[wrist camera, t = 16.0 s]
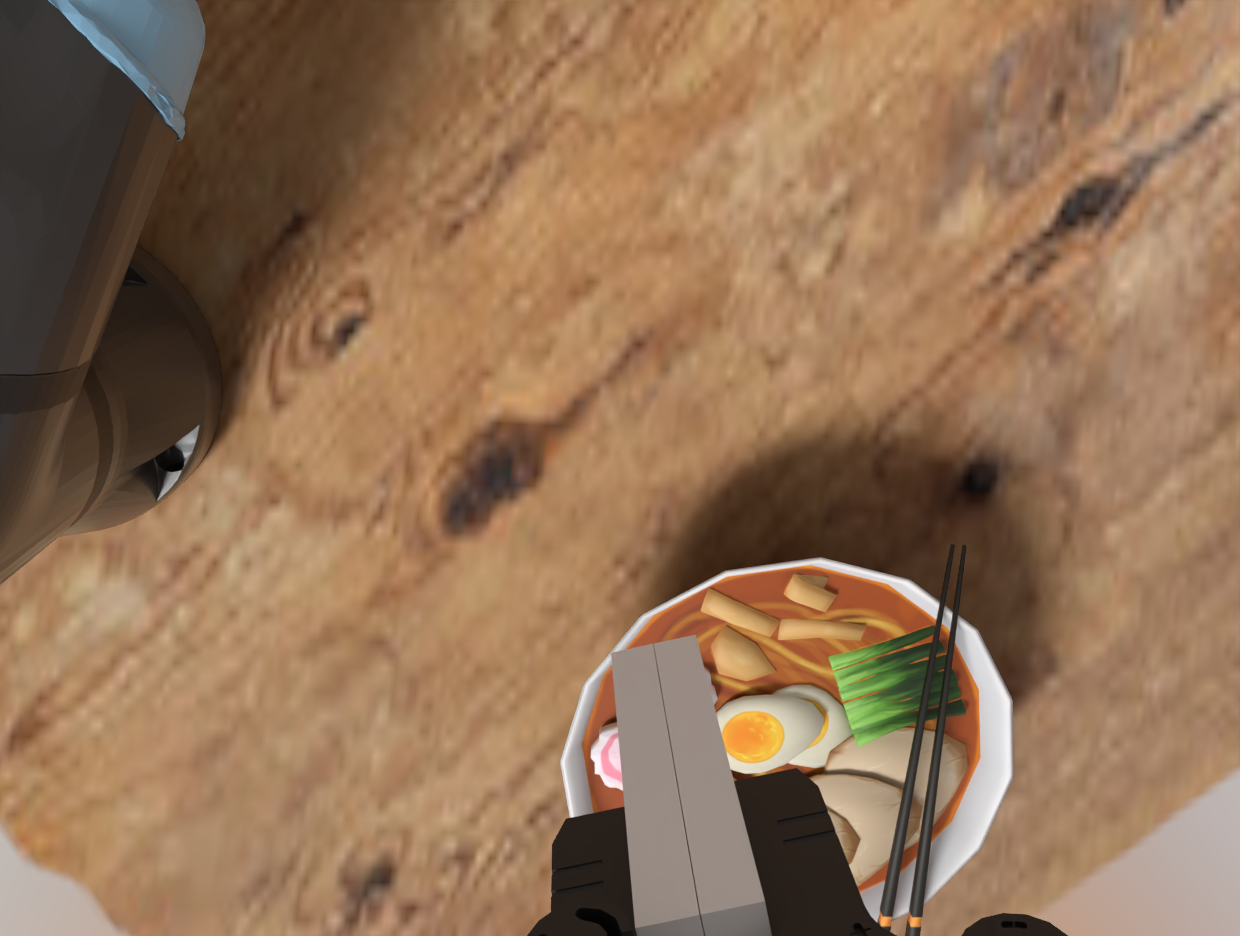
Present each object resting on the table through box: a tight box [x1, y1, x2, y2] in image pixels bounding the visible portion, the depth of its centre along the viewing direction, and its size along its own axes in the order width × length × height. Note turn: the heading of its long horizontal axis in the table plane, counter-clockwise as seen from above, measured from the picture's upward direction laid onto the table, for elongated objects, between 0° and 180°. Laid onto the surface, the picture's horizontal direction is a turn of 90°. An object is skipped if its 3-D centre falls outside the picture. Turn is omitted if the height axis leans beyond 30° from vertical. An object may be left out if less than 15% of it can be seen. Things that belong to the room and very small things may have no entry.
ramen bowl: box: [560, 544, 1014, 936], centre depth 54 cm, size 25×23×8 cm
